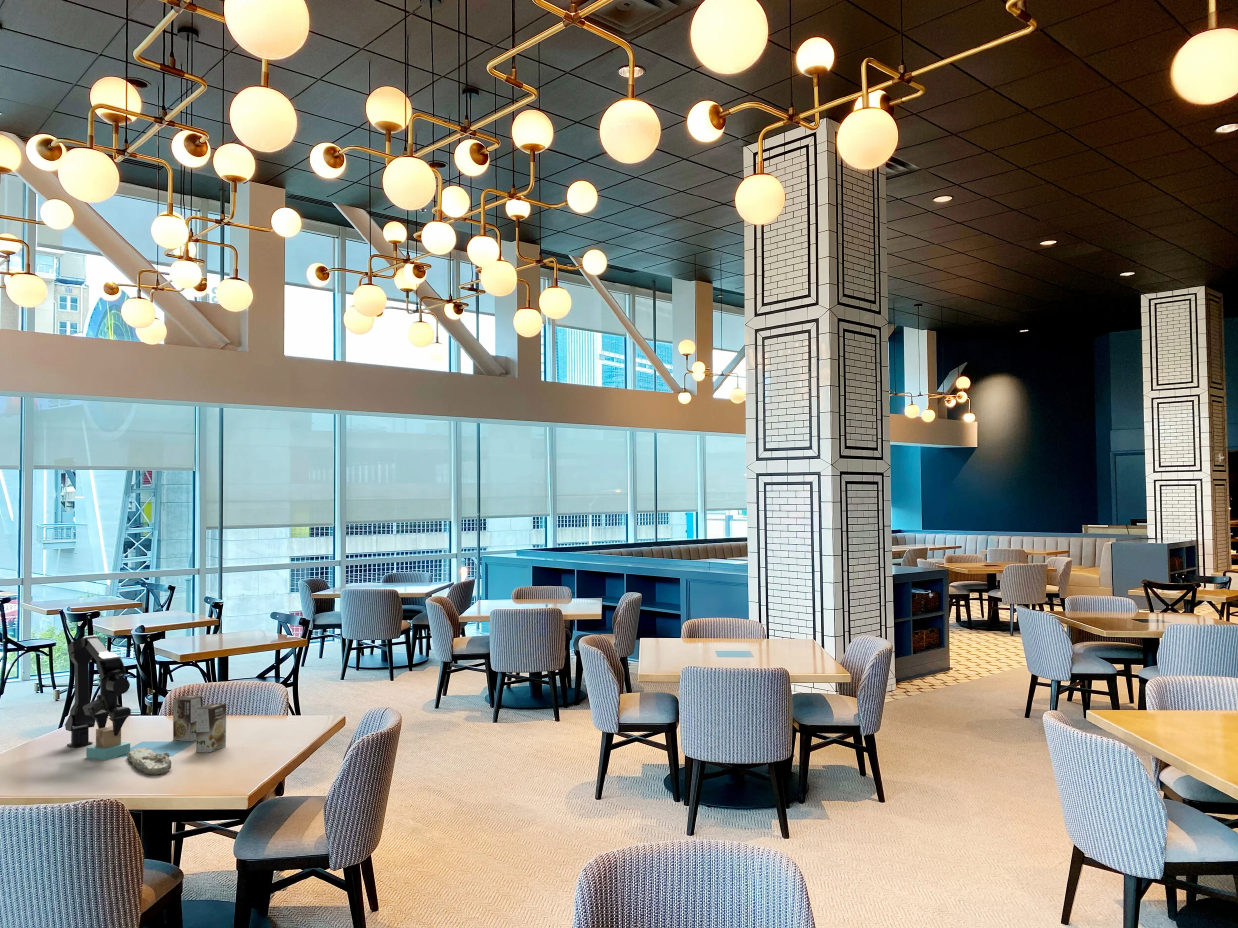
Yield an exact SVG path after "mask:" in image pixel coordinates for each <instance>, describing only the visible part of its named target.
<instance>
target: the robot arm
mask: <svg viewBox="0 0 1238 928" xmlns="http://www.w3.org/2000/svg"><path fill="white" fill-rule="evenodd" d="M67 652H68V657H69V659H70V660H71V662H72V664H73V665H74V671H73V672H74V703H73V705H72V706H71V708H70V709H69V715H68V718H67V719H66V721H65V724H64V726H65V731H68V732H71V733H70V737H71V738H70V743H66V746H69V747H73V748H79V747H84V746H87V745H92V744H93V741H90V738H89V737H90V735H89V733H90V732H89V731H90V728H94V727H95V725H97V729H100V728H104V727H107V722H108V719H109V721H111V722H112V726H113V732H114V736H117V735H118V733H119V731H120V729H121V730H122V728H123V726H124V724H125V722H126V721H127V718H129V717H130V716H131V715H132V709H131V708H130V707H128V706H121V703H119V697H121V695H123V694H125V693H127V692H128V691H129V689H130V687H131V683H130V682H129V680H128V678H125V675H126V674H127V672H126V671H127V669H126V667H125V665H124V662H123V660H122V658H121V657H120V655H118V654H116V653H113V652H110V651H109V650H108V649H107V648H106V647H105V645H104V644H103V643H102V642H101V640H100V638H99V635H88V636H87V635H86V636H83V637H81V638H80V639H77V640H74V641H71V642H70V643H69V644H68V645H67ZM92 659H94V660H95V661H96V665H95V668H96V670H97V672H98V674H99V676H98V678H99V679H100V681H99V682H100V683H99V685H100V686H99V690H100V691H99V693H98V694H97V696H96V699H95V700H92V701H90V667H89V666H90V662H91V660H92Z"/></svg>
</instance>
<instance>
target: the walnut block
mask: <svg viewBox="0 0 1238 928" xmlns="http://www.w3.org/2000/svg"><path fill="white" fill-rule="evenodd" d="M121 742H122V728H121V729H120V731H119V733H118V735H117V736H114V732H113V725H110V726H105V727H104V728H100V729H99V728H96V729H95V745H96V746H98V747H101V748H107V747H112V746H116V745H120V744H121Z"/></svg>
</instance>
